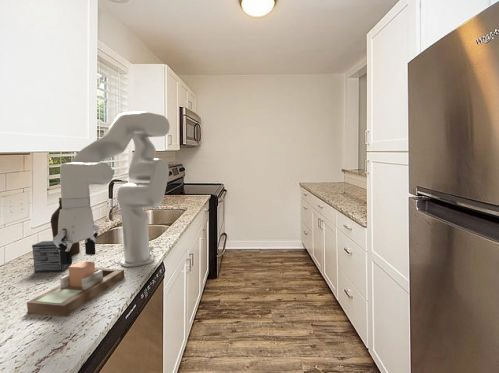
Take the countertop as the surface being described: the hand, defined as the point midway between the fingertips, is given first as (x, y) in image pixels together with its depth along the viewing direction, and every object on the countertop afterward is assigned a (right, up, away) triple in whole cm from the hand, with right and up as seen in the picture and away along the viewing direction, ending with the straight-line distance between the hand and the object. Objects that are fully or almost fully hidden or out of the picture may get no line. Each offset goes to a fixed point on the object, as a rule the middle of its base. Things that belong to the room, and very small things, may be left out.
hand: (79, 259), depth 94 cm
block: (0, -8, +1) cm, 8 cm away
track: (0, -11, +1) cm, 11 cm away
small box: (-23, -10, +23) cm, 34 cm away
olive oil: (-29, -8, +43) cm, 52 cm away
